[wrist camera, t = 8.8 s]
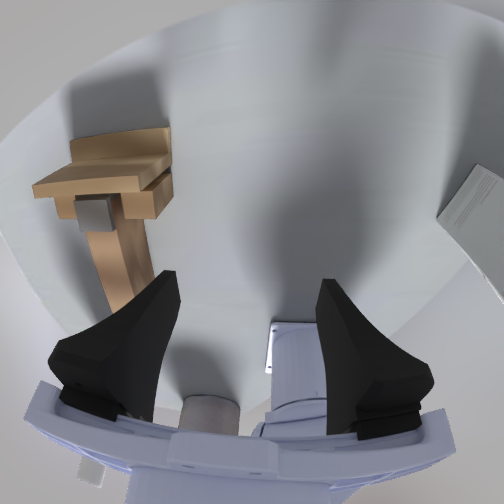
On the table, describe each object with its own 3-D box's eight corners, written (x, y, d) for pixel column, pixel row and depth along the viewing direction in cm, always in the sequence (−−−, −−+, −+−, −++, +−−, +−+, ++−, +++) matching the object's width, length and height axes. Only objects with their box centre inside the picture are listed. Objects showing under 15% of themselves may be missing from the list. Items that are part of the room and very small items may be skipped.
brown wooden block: (161, 304, 27) (146, 340, 23) (136, 301, 27) (119, 335, 23) (136, 173, 20) (105, 196, 16) (106, 175, 20) (72, 198, 16)
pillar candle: (226, 421, 44) (219, 492, 31) (176, 406, 42) (161, 480, 29) (250, 404, 39) (246, 489, 27) (193, 387, 37) (177, 477, 24)
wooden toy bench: (174, 196, 21) (146, 233, 16) (83, 198, 21) (44, 231, 16) (170, 127, 18) (134, 142, 13) (73, 139, 18) (26, 160, 13)
